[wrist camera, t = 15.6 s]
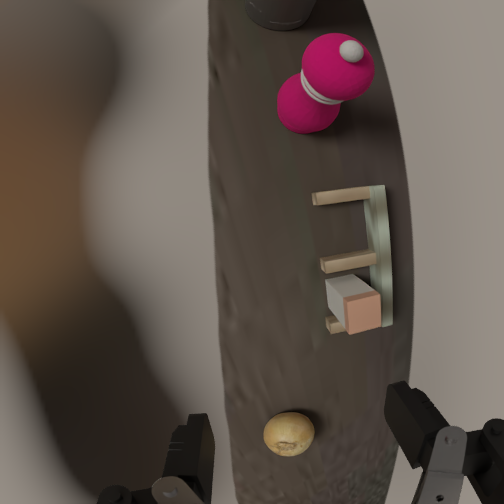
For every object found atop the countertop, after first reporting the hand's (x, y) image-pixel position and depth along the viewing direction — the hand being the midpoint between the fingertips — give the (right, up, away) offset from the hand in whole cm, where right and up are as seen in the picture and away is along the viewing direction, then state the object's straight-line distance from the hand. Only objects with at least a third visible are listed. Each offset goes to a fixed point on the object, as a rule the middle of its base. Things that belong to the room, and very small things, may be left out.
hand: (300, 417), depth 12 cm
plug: (+10, +2, +30) cm, 31 cm away
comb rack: (+10, +6, +29) cm, 31 cm away
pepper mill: (+4, +25, +25) cm, 36 cm away
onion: (+4, -21, +34) cm, 40 cm away
